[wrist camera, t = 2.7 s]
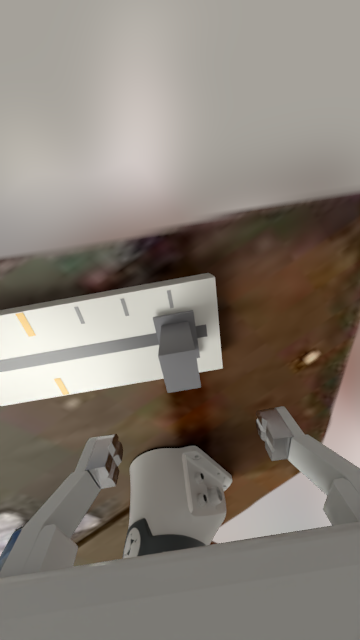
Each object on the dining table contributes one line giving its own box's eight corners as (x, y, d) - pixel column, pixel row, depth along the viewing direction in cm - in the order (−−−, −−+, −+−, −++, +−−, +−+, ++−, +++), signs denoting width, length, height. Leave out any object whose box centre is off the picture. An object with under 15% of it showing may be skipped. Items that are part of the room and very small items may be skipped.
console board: (209, 272, 21) (215, 277, 18) (217, 355, 26) (222, 368, 23) (-34, 316, 21) (-64, 326, 19) (18, 389, 26) (1, 406, 23)
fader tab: (192, 309, 19) (202, 337, 14) (199, 355, 22) (209, 394, 16) (153, 316, 19) (146, 347, 14) (164, 361, 22) (162, 402, 16)
